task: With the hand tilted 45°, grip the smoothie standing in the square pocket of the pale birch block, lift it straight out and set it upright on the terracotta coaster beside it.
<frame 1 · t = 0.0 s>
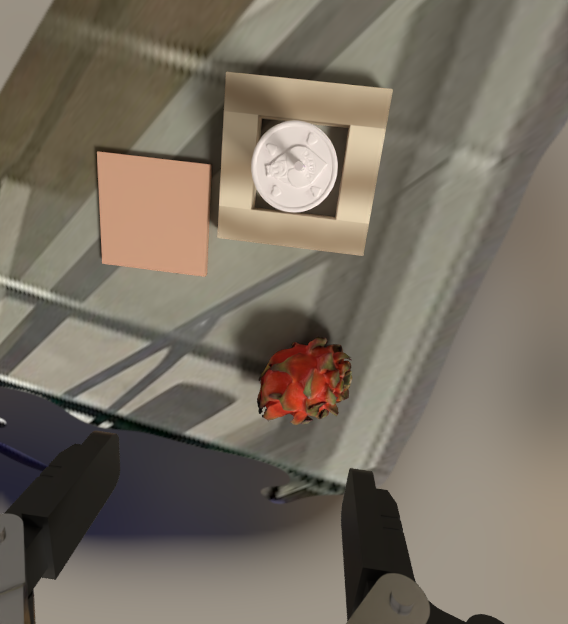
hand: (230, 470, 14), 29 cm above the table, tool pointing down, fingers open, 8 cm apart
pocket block: (299, 169, 38), on the table
smoothie: (299, 169, 38), resting in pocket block
coaster: (156, 215, 40), on the table
dragon fruit: (303, 367, 45), on the table
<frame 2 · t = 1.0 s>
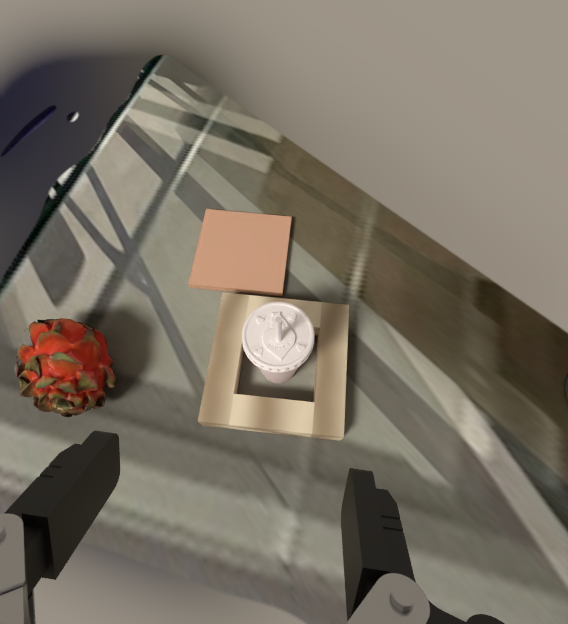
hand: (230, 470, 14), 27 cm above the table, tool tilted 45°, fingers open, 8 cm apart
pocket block: (278, 366, 43), on the table
smoothie: (278, 366, 43), resting in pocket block
coaster: (242, 252, 49), on the table
dragon fruit: (81, 373, 43), on the table
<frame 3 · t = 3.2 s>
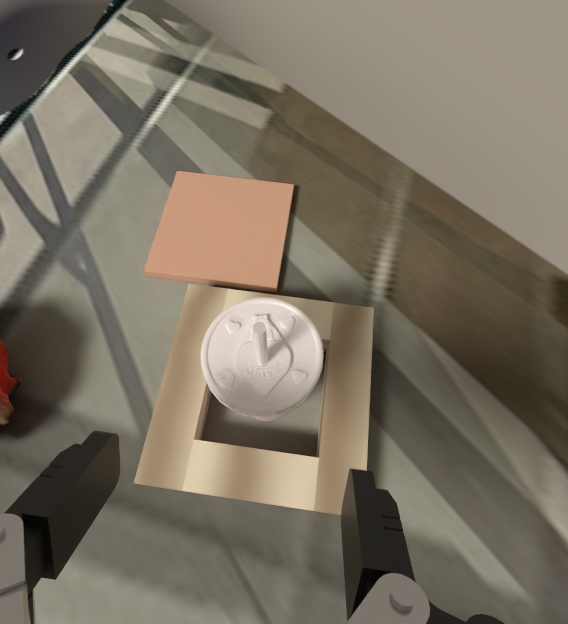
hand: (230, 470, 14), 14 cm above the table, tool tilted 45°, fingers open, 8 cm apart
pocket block: (266, 395, 29), on the table
smoothie: (266, 396, 29), resting in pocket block
coaster: (224, 230, 35), on the table
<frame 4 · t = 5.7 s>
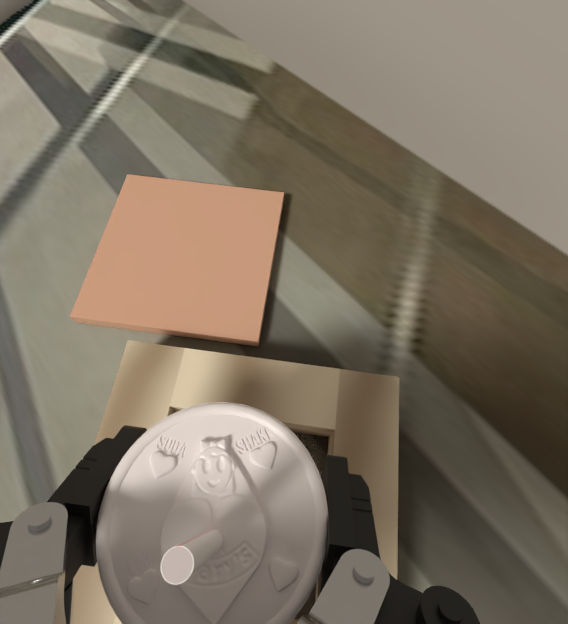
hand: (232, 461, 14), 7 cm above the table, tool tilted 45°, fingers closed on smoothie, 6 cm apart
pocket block: (240, 509, 19), on the table
smoothie: (241, 508, 20), resting in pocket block, touching gripper
coaster: (188, 256, 26), on the table
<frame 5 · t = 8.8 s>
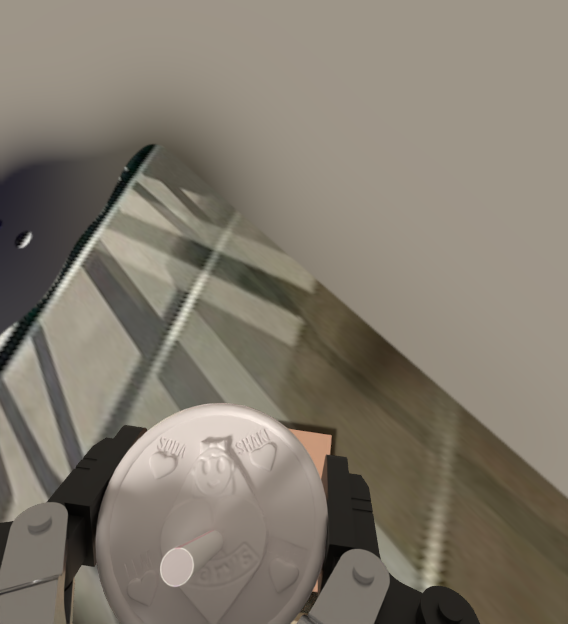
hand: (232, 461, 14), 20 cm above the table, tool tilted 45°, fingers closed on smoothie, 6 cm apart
smoothie: (240, 509, 20), point 13 cm above the table, touching gripper
coaster: (256, 496, 32), on the table
when the fingers open (9 cm above the table, at t = 12.1 s): smoothie drops 1 cm, resting on coaster.
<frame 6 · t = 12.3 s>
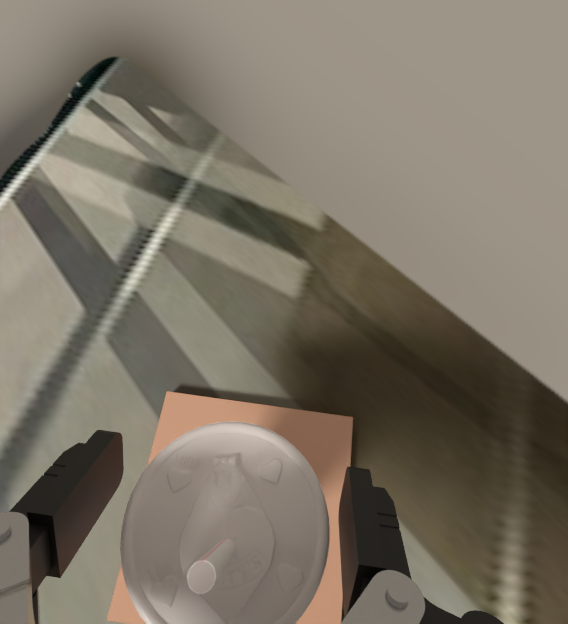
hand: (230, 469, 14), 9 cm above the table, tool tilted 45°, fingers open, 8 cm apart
smoothie: (247, 513, 21), point 1 cm above the table, touching coaster
coaster: (243, 508, 21), on the table
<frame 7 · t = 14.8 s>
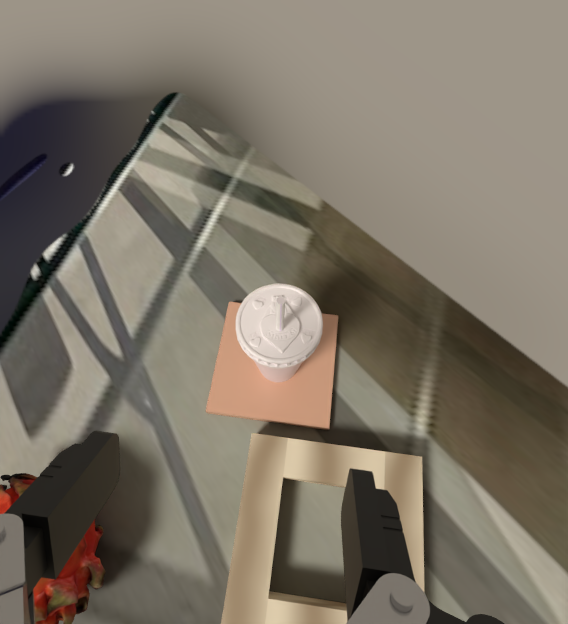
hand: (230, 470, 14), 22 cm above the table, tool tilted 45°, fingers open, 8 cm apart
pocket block: (325, 539, 32), on the table
smoothie: (278, 363, 37), point 1 cm above the table, touching coaster
coaster: (275, 363, 38), on the table
dragon fruit: (59, 542, 32), on the table
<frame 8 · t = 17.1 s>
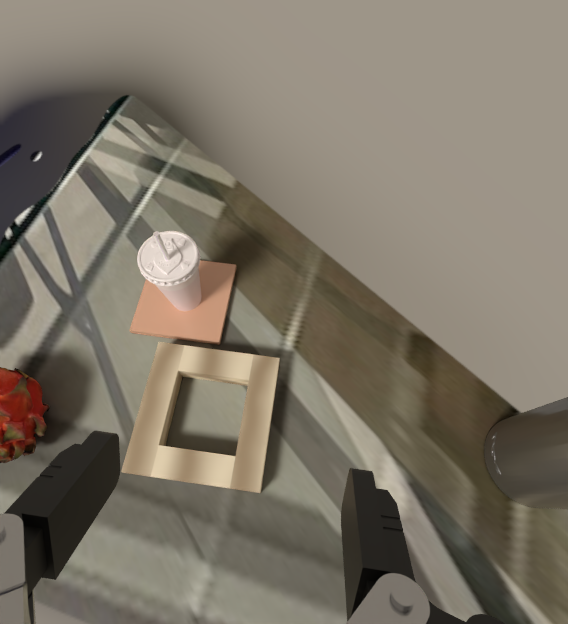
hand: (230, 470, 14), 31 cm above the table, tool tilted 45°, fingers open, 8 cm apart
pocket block: (209, 415, 44), on the table
smoothie: (187, 298, 50), point 1 cm above the table, touching coaster
coaster: (186, 299, 51), on the table
dragon fruit: (19, 417, 44), on the table
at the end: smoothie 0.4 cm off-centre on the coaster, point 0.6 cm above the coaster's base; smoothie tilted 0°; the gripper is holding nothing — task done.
